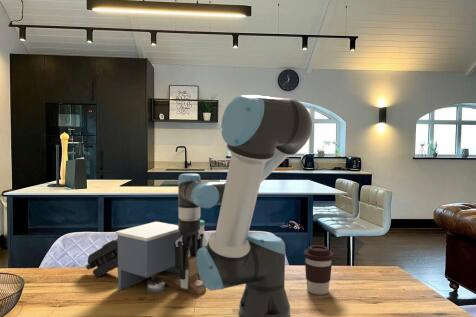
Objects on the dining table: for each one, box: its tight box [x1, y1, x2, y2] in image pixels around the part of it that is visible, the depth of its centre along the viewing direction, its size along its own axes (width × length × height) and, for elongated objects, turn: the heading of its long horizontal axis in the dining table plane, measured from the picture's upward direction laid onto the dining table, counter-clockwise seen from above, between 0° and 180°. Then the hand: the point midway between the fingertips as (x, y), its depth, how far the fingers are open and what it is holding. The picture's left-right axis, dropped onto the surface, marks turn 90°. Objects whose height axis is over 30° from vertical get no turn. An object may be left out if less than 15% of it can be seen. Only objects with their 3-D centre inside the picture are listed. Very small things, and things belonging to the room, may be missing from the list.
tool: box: [85, 238, 118, 278], centre depth 135 cm, size 6×19×15 cm, turn 78°
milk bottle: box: [189, 219, 209, 275], centre depth 140 cm, size 8×8×20 cm
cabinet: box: [115, 221, 180, 291], centre depth 126 cm, size 15×19×20 cm
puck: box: [146, 278, 166, 294], centre depth 123 cm, size 6×6×3 cm
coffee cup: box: [303, 244, 334, 296], centre depth 123 cm, size 10×10×15 cm
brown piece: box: [151, 255, 207, 296], centre depth 126 cm, size 22×4×11 cm, turn 58°
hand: (188, 285), depth 123 cm, fingers closed on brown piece, 4 cm apart
